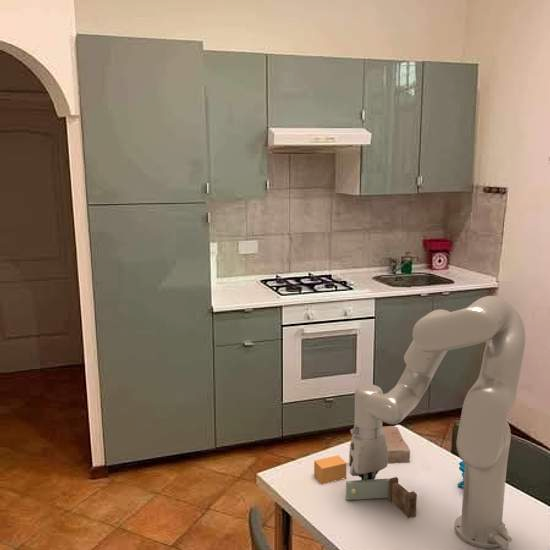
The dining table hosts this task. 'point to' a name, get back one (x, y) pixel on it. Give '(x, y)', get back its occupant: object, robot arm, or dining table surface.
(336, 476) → the orange rectangular block
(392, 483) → the wall frame
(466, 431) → the robot arm
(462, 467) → the blue green toy
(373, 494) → the door
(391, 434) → the brick
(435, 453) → the dining table surface
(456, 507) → the dining table surface
